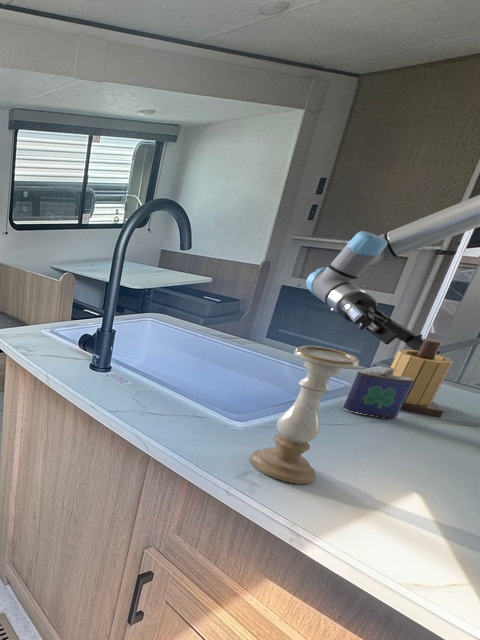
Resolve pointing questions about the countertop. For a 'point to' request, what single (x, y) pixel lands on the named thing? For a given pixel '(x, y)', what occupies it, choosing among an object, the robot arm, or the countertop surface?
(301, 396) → the candle holder
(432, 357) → the stand
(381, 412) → the flask
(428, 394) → the wooden container
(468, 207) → the robot arm
